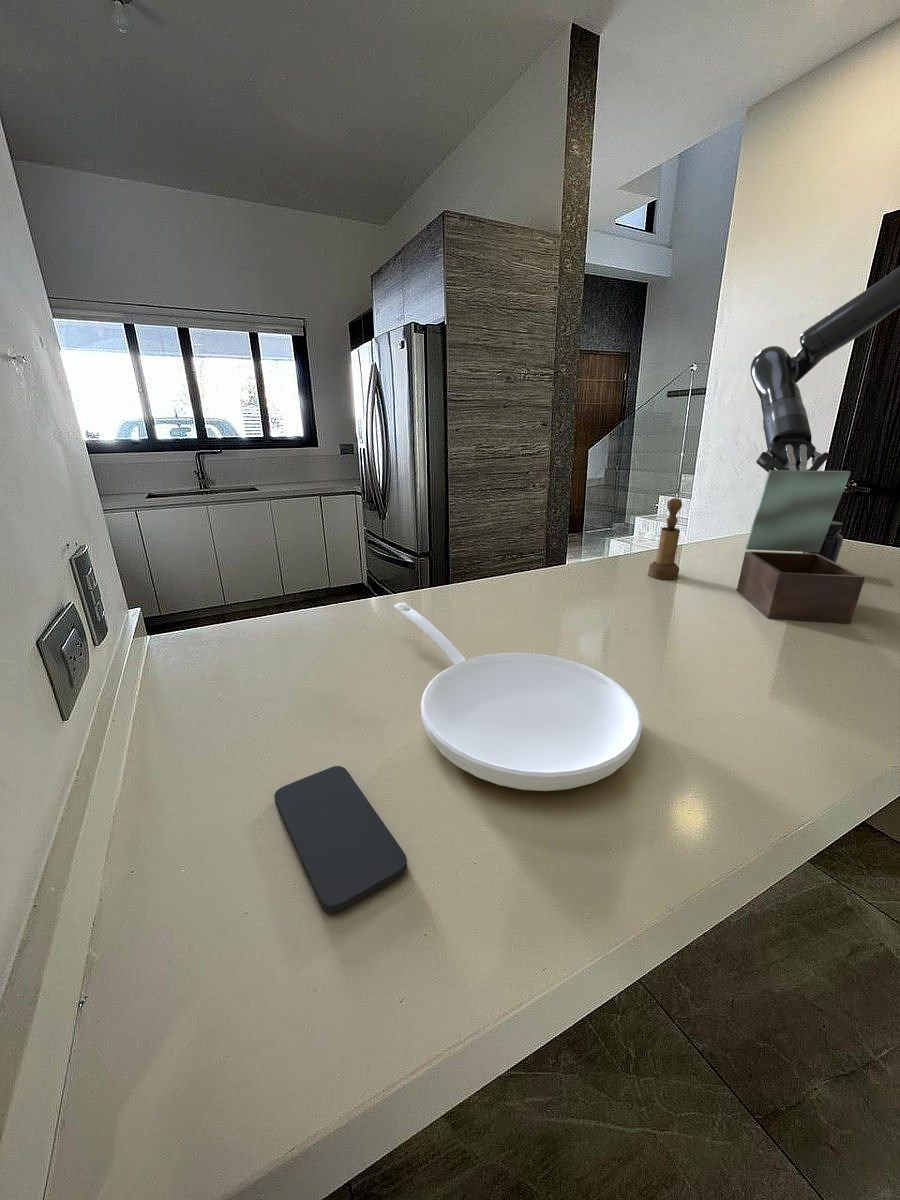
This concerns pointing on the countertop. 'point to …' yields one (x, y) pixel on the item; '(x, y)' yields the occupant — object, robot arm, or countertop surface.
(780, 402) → the robot arm
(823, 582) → the case
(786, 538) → the glass lid
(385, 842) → the phone
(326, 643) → the countertop surface
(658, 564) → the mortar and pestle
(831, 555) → the supplement bottle
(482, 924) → the countertop surface
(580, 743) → the pan
